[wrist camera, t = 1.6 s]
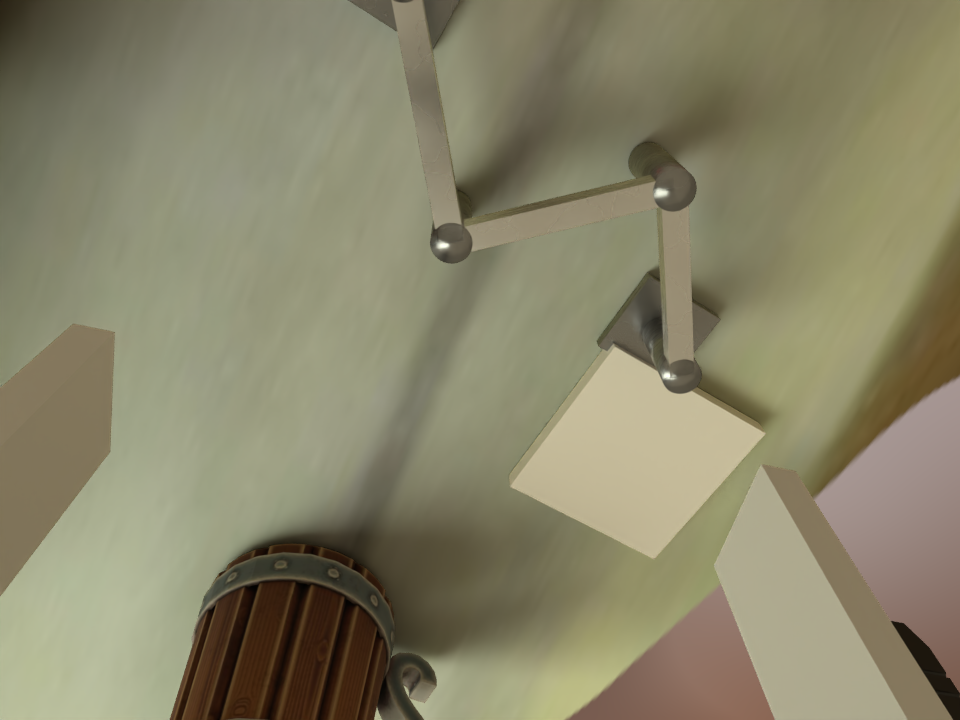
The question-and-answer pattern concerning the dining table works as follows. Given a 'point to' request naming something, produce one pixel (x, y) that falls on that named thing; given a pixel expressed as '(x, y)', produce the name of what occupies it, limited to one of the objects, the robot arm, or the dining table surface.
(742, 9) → the dining table surface
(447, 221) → the jointed bar linkage
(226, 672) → the mug
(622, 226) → the dining table surface
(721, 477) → the pad
